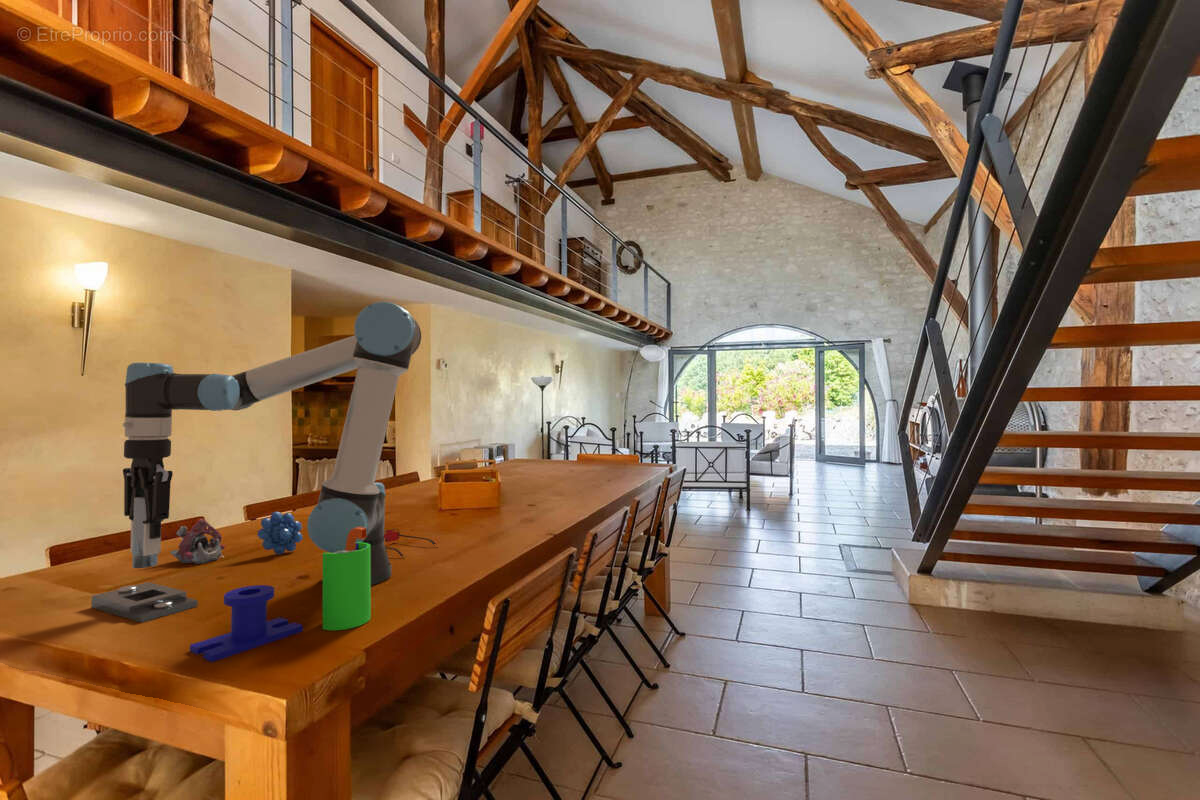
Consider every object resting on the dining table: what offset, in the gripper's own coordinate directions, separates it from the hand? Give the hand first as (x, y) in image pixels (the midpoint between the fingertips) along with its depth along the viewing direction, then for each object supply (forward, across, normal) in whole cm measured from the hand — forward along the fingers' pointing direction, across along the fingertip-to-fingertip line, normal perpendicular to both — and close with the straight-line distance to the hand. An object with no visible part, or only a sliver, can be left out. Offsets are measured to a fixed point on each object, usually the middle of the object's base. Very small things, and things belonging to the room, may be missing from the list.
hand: (145, 552), depth 115 cm
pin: (+3, 0, 0) cm, 3 cm away
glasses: (+12, +12, +58) cm, 61 cm away
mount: (+11, +35, -1) cm, 37 cm away
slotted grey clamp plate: (+11, 0, 0) cm, 11 cm away
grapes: (+11, -13, +39) cm, 43 cm away
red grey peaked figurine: (+11, -27, +26) cm, 39 cm away
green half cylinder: (+11, +43, +13) cm, 46 cm away
